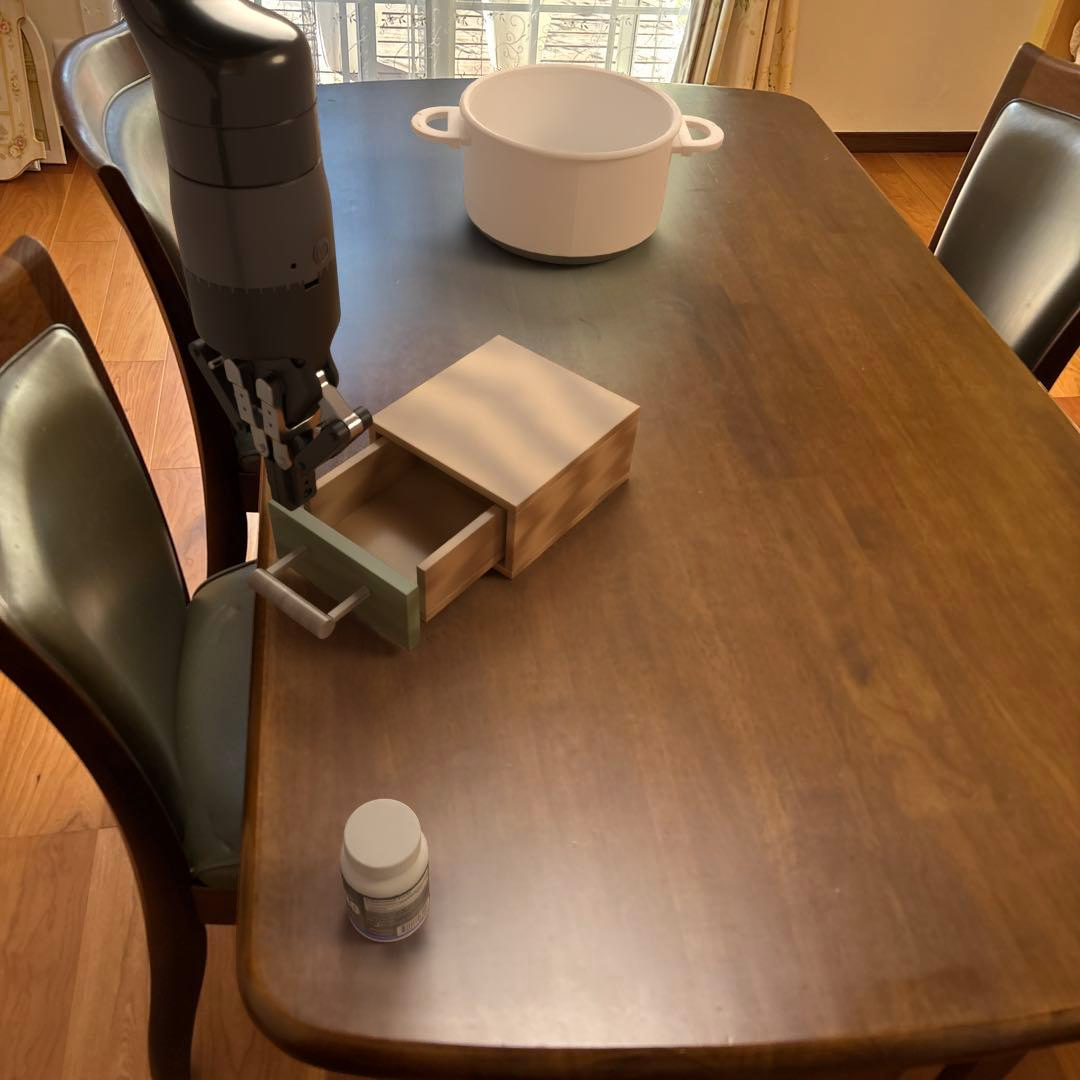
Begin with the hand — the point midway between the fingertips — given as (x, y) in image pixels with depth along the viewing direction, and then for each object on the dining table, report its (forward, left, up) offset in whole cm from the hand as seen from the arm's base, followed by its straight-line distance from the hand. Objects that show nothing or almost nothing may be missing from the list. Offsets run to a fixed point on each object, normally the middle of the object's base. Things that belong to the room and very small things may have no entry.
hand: (294, 499), depth 63 cm
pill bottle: (-11, -18, -13) cm, 25 cm away
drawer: (+8, 0, -12) cm, 14 cm away
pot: (+59, +23, -13) cm, 65 cm away
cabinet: (+21, 0, -13) cm, 25 cm away
